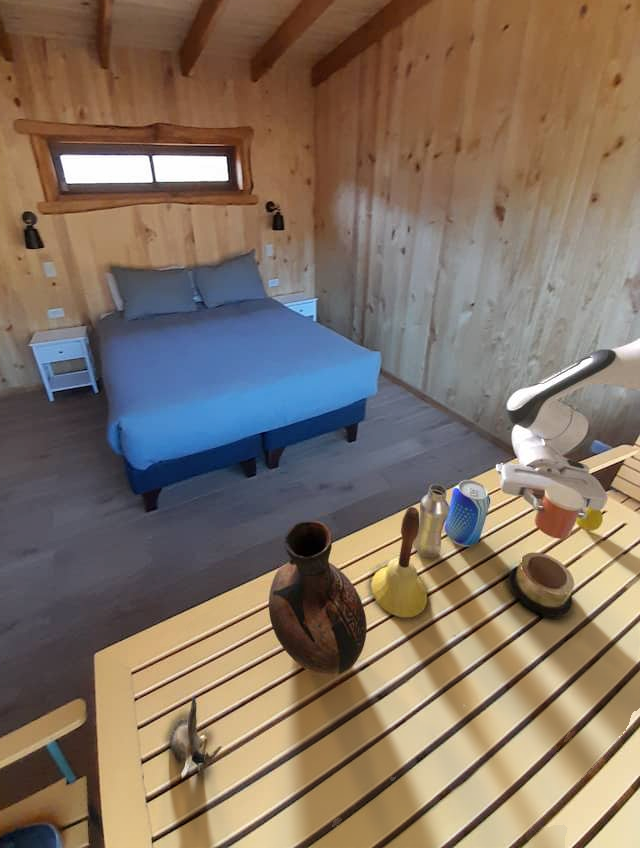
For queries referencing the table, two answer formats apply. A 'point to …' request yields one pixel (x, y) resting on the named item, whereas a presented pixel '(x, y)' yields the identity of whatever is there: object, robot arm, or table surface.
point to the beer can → (467, 513)
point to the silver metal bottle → (431, 521)
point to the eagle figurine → (190, 743)
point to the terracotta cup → (559, 511)
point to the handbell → (401, 576)
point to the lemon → (591, 520)
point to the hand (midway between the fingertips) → (560, 512)
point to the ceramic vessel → (316, 604)
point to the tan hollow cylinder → (542, 586)
